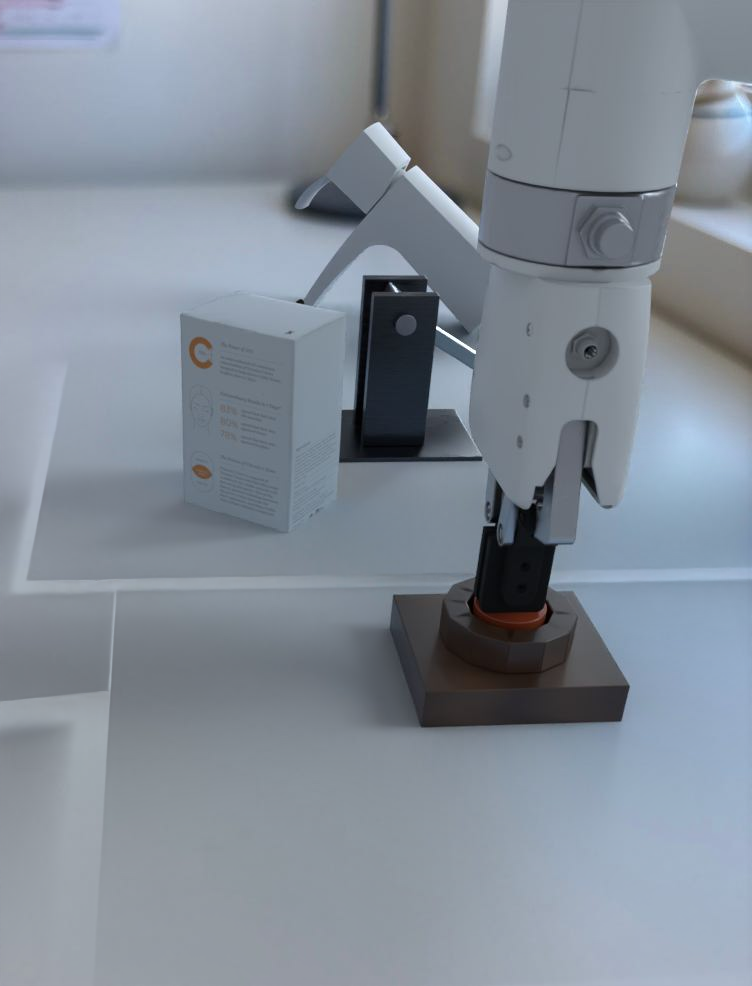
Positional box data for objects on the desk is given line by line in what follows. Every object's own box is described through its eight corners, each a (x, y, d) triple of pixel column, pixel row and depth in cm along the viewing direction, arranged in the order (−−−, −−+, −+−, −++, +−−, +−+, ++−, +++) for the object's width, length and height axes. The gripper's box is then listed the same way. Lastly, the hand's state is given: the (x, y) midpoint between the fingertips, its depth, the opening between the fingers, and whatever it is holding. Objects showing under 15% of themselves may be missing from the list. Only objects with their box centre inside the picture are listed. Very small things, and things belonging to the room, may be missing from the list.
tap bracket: (453, 423, 87) (472, 267, 81) (481, 472, 80) (504, 305, 73) (298, 424, 86) (305, 266, 80) (311, 474, 79) (320, 305, 72)
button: (530, 613, 59) (535, 584, 58) (550, 651, 56) (556, 621, 55) (462, 615, 59) (466, 586, 58) (479, 653, 56) (483, 623, 55)
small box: (338, 509, 74) (351, 311, 67) (286, 547, 70) (294, 339, 63) (236, 478, 78) (237, 287, 71) (180, 512, 73) (176, 312, 66)
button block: (566, 624, 63) (579, 561, 61) (621, 722, 56) (638, 654, 53) (389, 628, 62) (395, 564, 60) (421, 728, 55) (429, 660, 52)
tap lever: (498, 389, 84) (519, 362, 83) (516, 414, 80) (538, 386, 79) (365, 305, 80) (385, 275, 79) (377, 327, 75) (398, 296, 74)
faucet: (517, 289, 101) (361, 121, 99) (394, 405, 111) (248, 255, 108) (529, 271, 106) (380, 111, 104) (410, 384, 116) (271, 240, 113)
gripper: (737, 273, 41) (632, 689, 51) (601, 185, 53) (538, 533, 63) (534, 271, 40) (468, 693, 50) (444, 183, 52) (406, 535, 62)
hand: (507, 603), depth 56 cm, fingers closed
